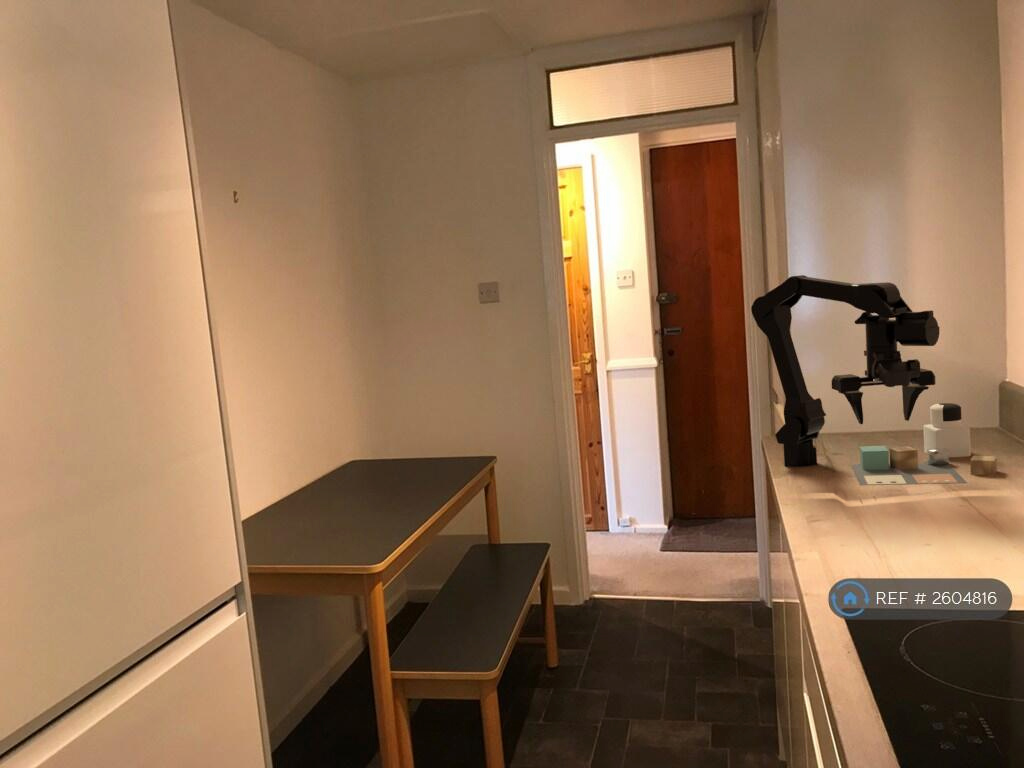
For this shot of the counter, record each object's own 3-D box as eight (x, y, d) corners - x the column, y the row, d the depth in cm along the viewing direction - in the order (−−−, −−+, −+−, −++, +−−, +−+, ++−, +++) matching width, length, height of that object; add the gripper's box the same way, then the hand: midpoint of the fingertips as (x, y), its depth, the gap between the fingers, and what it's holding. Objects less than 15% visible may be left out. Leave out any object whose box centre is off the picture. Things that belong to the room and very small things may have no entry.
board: (860, 490, 164) (859, 484, 164) (850, 469, 182) (850, 464, 181) (967, 488, 159) (967, 482, 159) (947, 466, 176) (947, 461, 176)
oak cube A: (898, 470, 173) (898, 451, 172) (890, 466, 177) (889, 447, 176) (918, 468, 173) (917, 449, 172) (909, 464, 177) (908, 446, 176)
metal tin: (929, 466, 174) (929, 452, 173) (925, 461, 178) (925, 448, 177) (950, 465, 173) (950, 451, 172) (946, 461, 176) (946, 447, 176)
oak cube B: (970, 459, 164) (993, 460, 162) (973, 455, 168) (996, 456, 165) (971, 479, 165) (994, 481, 162) (973, 475, 168) (996, 476, 166)
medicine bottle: (957, 453, 186) (955, 400, 185) (971, 460, 179) (969, 405, 178) (923, 456, 187) (921, 403, 186) (936, 462, 180) (934, 408, 179)
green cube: (863, 470, 176) (862, 451, 175) (860, 464, 180) (859, 446, 180) (889, 469, 174) (888, 450, 174) (885, 464, 179) (884, 445, 179)
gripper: (850, 353, 160) (852, 433, 162) (948, 345, 160) (950, 425, 161) (829, 348, 171) (832, 423, 173) (921, 340, 171) (923, 416, 172)
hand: (883, 422), depth 170 cm, fingers open, 9 cm apart
